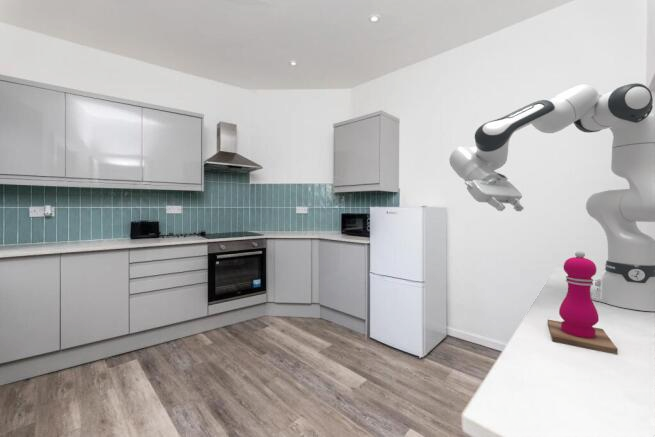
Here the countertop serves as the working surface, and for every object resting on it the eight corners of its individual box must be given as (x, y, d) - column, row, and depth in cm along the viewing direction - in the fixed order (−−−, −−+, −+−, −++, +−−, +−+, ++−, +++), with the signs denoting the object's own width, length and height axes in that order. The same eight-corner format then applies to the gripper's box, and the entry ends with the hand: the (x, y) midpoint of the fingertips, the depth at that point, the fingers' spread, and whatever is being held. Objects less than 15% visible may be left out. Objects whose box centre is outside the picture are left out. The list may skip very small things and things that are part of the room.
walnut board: (547, 323, 78) (547, 319, 78) (602, 333, 72) (602, 328, 72) (552, 341, 67) (552, 336, 67) (617, 354, 61) (617, 349, 61)
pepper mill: (606, 340, 65) (609, 253, 65) (570, 337, 67) (572, 252, 66) (584, 328, 72) (586, 249, 72) (552, 325, 74) (554, 248, 73)
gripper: (468, 171, 90) (497, 201, 82) (508, 175, 100) (538, 203, 91) (456, 186, 95) (483, 216, 86) (495, 189, 104) (523, 217, 95)
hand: (511, 209), depth 89 cm, fingers open, 8 cm apart
